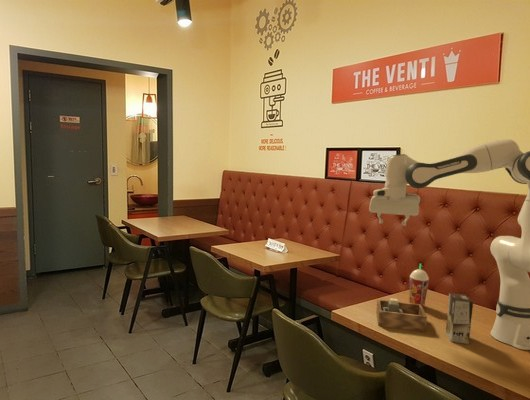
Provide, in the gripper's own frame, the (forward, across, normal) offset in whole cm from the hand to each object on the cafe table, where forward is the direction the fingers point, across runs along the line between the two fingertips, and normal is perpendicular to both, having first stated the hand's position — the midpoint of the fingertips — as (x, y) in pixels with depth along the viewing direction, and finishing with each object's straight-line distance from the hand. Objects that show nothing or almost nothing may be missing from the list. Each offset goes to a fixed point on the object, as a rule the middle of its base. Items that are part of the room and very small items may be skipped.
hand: (392, 224), depth 170 cm
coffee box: (+39, -25, +18) cm, 50 cm away
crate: (+39, -5, +9) cm, 40 cm away
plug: (+38, -2, +9) cm, 39 cm away
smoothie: (+39, -15, -13) cm, 44 cm away
